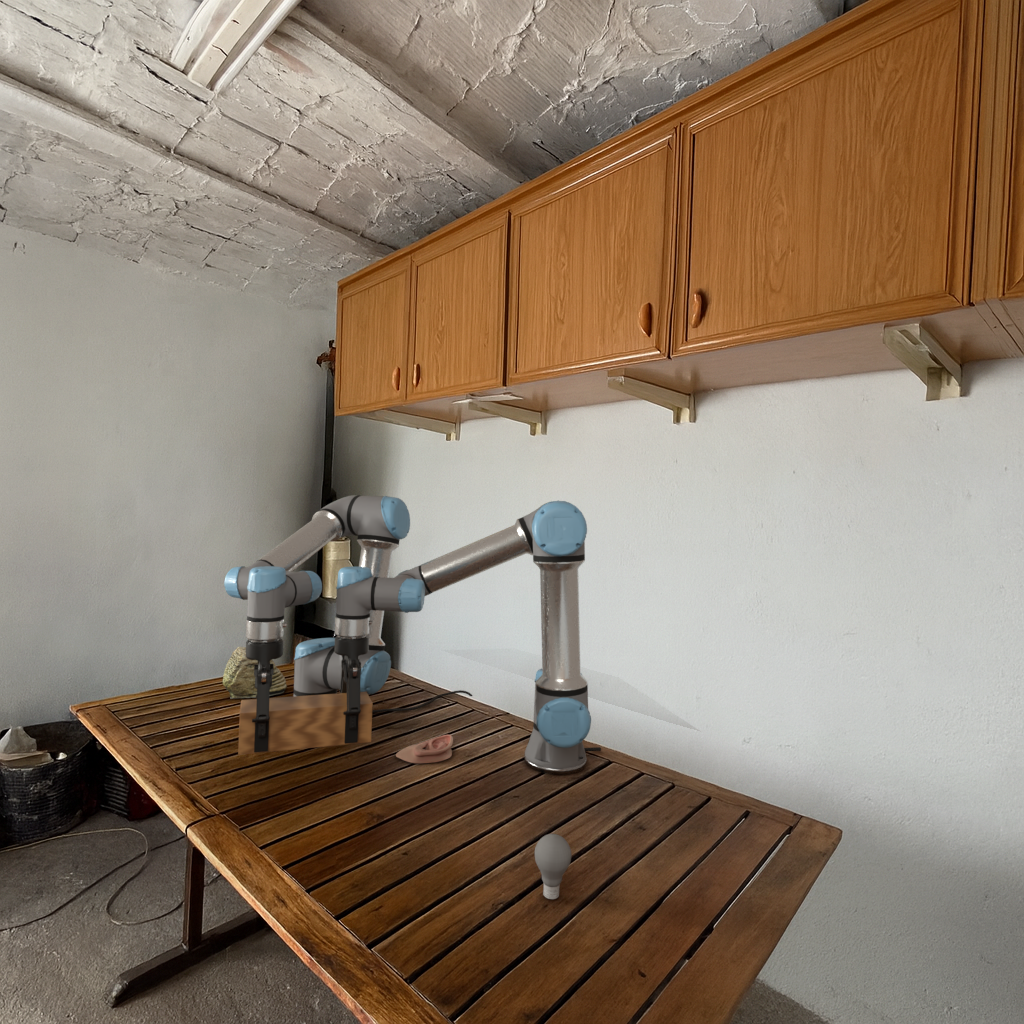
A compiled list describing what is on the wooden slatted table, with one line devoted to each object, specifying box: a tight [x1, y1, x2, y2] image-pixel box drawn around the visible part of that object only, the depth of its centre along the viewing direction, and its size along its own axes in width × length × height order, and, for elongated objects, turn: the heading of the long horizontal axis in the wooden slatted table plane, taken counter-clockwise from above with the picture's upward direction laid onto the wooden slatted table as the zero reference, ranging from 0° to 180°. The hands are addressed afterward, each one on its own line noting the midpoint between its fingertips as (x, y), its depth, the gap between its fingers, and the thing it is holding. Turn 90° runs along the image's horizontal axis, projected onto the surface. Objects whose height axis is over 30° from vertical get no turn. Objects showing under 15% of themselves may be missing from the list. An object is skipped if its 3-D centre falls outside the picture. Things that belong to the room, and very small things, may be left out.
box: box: [237, 692, 374, 756], centre depth 140 cm, size 27×9×9 cm, turn 111°
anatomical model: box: [395, 734, 454, 764], centre depth 157 cm, size 13×4×12 cm
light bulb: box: [534, 833, 573, 900], centre depth 103 cm, size 6×6×10 cm
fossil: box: [222, 646, 288, 699], centre depth 198 cm, size 9×18×15 cm, turn 132°
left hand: (261, 742), depth 137 cm, fingers closed on box, 9 cm apart
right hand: (348, 734), depth 143 cm, fingers closed on box, 9 cm apart
